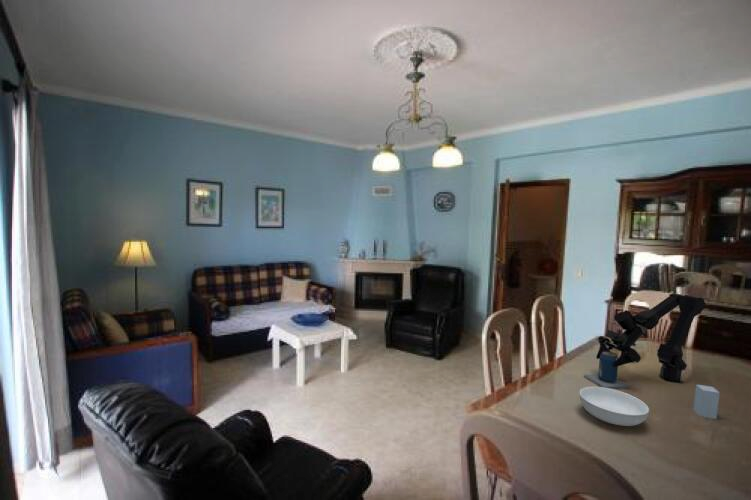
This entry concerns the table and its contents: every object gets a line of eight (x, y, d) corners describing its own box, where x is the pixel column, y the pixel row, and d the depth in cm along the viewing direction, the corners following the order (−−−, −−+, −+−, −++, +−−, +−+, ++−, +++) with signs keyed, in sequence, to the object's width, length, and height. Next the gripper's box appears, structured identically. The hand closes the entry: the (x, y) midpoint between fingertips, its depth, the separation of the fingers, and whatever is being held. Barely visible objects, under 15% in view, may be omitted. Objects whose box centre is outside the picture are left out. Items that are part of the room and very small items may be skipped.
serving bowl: (649, 442, 120) (651, 421, 119) (575, 421, 131) (577, 402, 130) (644, 414, 138) (646, 396, 137) (580, 398, 149) (581, 381, 148)
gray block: (693, 410, 142) (696, 384, 141) (709, 412, 140) (712, 387, 139) (699, 416, 137) (702, 390, 136) (716, 419, 135) (719, 392, 134)
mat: (607, 375, 171) (607, 373, 171) (629, 387, 159) (629, 385, 159) (583, 376, 169) (583, 374, 169) (604, 389, 157) (604, 386, 157)
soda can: (619, 382, 162) (622, 355, 161) (610, 384, 159) (612, 357, 158) (604, 375, 168) (606, 349, 167) (594, 378, 165) (596, 351, 164)
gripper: (602, 318, 171) (579, 342, 171) (637, 330, 153) (611, 358, 152) (616, 334, 173) (593, 358, 173) (652, 349, 155) (626, 376, 154)
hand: (604, 362), depth 163 cm, fingers open, 9 cm apart
